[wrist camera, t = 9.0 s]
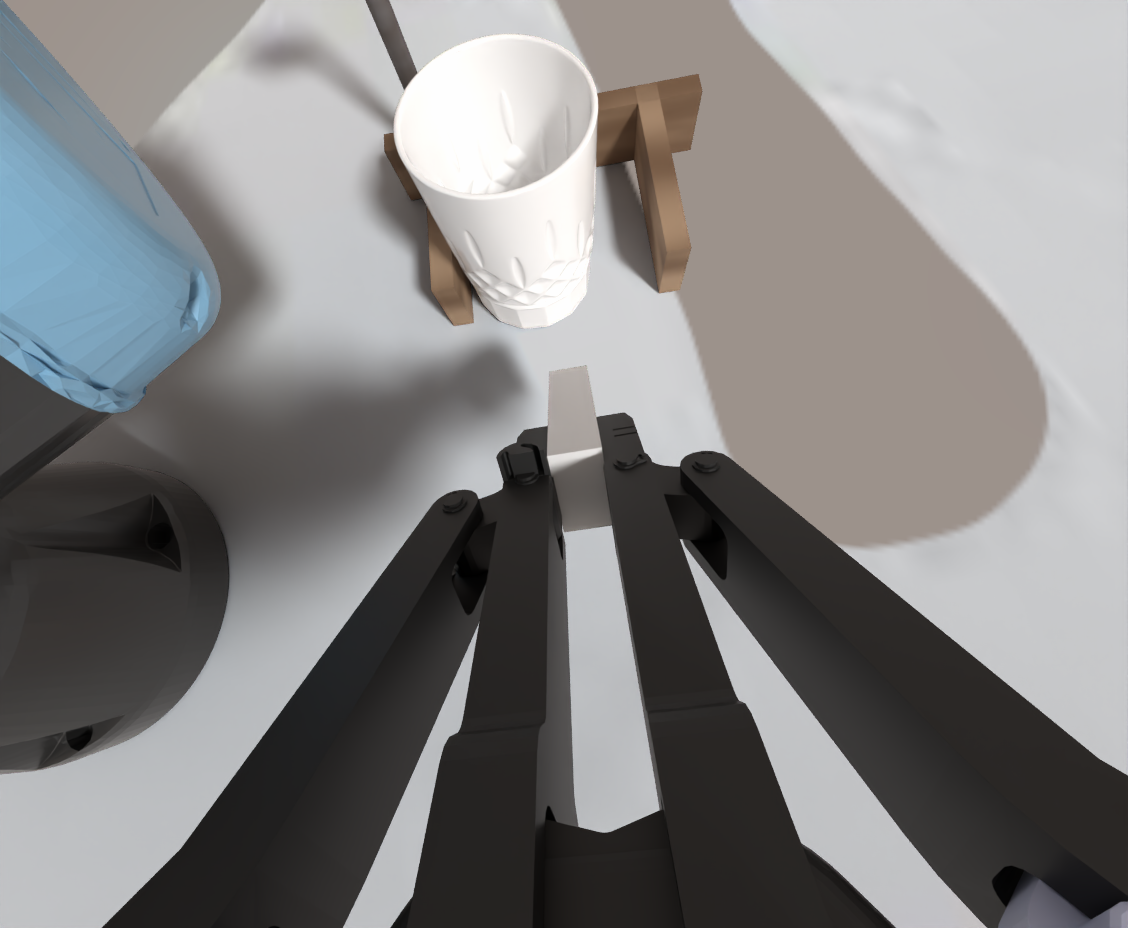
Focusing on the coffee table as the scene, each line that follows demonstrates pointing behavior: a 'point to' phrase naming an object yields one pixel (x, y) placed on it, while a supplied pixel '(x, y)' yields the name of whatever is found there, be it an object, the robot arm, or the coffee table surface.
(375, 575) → the coffee table surface
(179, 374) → the coffee table surface
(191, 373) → the coffee table surface
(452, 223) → the white cup
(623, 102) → the wooden cup stand
